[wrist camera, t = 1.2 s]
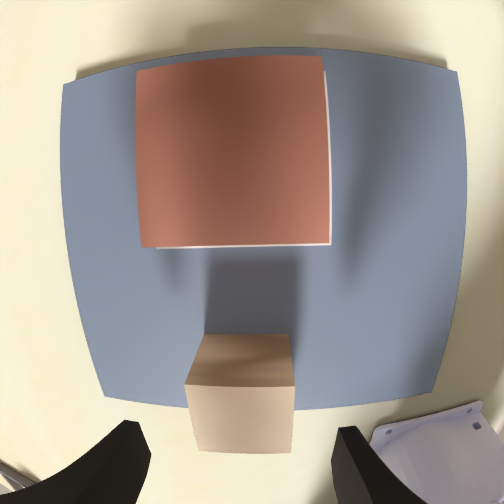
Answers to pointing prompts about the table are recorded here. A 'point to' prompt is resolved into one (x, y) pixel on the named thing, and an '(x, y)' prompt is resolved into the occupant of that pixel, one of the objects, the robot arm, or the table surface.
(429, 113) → the board
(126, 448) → the robot arm
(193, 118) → the base block
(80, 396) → the table surface
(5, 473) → the frame
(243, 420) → the maple cube
